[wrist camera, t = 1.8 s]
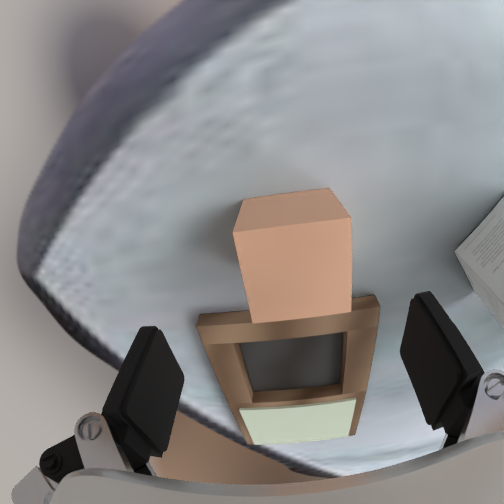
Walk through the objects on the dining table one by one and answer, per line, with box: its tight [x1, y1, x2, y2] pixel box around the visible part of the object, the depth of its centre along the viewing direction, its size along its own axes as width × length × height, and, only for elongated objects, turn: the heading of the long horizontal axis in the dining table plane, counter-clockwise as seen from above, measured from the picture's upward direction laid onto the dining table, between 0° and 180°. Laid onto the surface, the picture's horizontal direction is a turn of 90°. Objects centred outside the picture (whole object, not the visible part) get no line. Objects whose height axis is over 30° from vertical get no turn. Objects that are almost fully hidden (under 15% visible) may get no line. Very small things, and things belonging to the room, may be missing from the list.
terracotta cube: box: [232, 188, 352, 323], centre depth 16 cm, size 6×6×6 cm
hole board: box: [196, 295, 380, 445], centre depth 25 cm, size 14×22×2 cm, turn 10°
